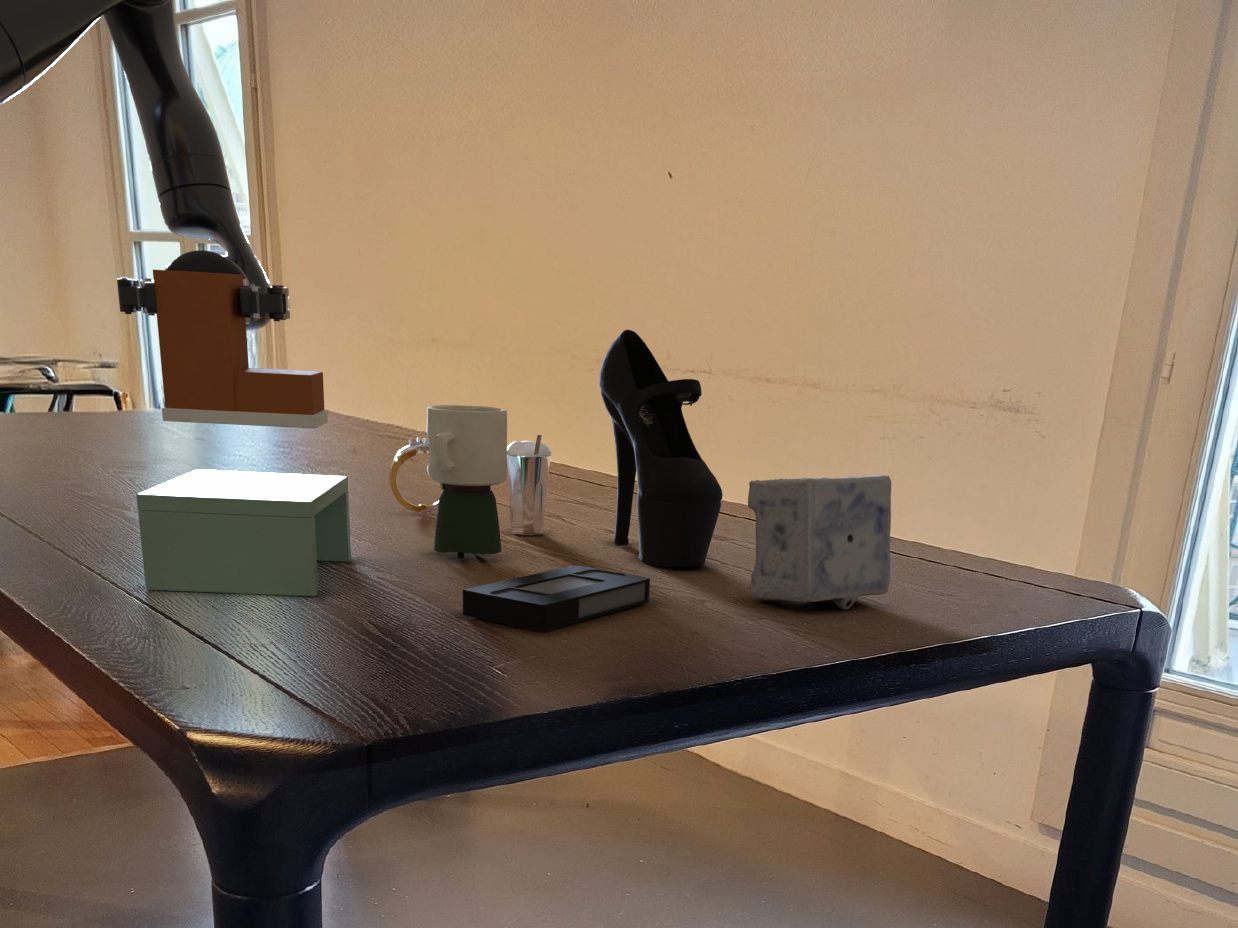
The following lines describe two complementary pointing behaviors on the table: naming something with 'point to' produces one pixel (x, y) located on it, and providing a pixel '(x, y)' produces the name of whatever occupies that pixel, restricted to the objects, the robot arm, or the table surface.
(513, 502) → the milkshake
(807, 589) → the incense holder
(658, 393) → the high-heeled shoe
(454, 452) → the character mug
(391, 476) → the ring
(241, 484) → the shoe shelf
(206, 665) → the table surface
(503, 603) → the vhs tape
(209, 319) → the ankle boot
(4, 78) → the robot arm
